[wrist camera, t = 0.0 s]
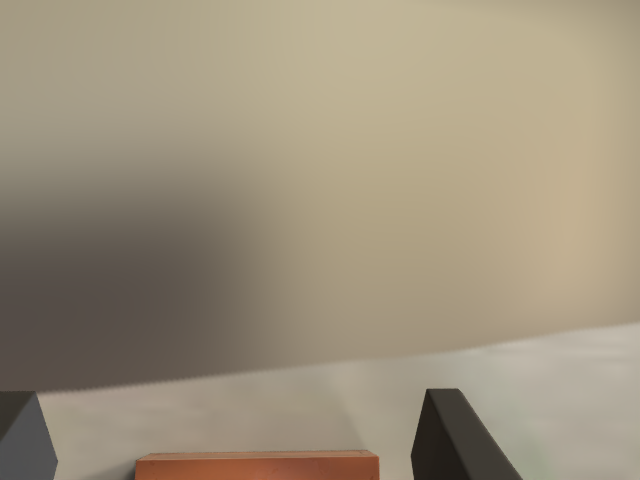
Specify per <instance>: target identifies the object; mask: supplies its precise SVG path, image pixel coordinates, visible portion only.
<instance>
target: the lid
mask: <svg viewBox="0 0 640 480" xmlns="http://www.w3.org/2000/svg"><path fill="white" fill-rule="evenodd" d="M135 480H380V478H379V456H377V455H376V456H315V457H254V458H193V459H138V460H136V469H135Z"/></svg>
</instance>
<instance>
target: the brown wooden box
mask: <svg viewBox="0 0 640 480" xmlns="http://www.w3.org/2000/svg"><path fill="white" fill-rule="evenodd" d="M315 456H376V455H375V454H373V453H371V452H370V451H368V450H344V451H280V452H216V453H152V454H149V455H147V456H145V457H143V458H141V459H193V458H254V457H315Z"/></svg>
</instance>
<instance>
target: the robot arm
mask: <svg viewBox="0 0 640 480" xmlns="http://www.w3.org/2000/svg"><path fill="white" fill-rule="evenodd" d="M411 461H412V468H413V475H414V480H523V479H522V478H521V476H520V475H519V474H518V472H517V471H516V470H515V468H514V467H513V466H512V464H511V463H510V462H509V460H508V459H507V457H506V456H505V455H504V453H503V452H502V450H501V449H500V448H499V446H498V445H497V443H496V442H495V441H494V439H493V438H492V436H491V435H490V433H489V432H488V431H487V429H486V428H485V426H484V425H483V423H482V422H481V420H480V419H479V417H478V416H477V414H476V413H475V411H474V410H473V408H472V407H471V405H470V404H469V402H468V401H467V399H466V398H465V396H464V395H463V393H462V392H461V391H460V390H459V389H427V390H426V394H425V398H424V402H423V407H422V411H421V415H420V419H419V423H418V427H417V432H416V436H415V440H414V444H413V448H412V453H411ZM57 463H58V460H57V457H56V454H55V451H54V448H53V445H52V441H51V438H50V435H49V432H48V429H47V426H46V423H45V420H44V417H43V413H42V410H41V407H40V404H39V401H38V398H37V395H36V392H35V391H27V392H26V391H21V392H20V391H17V392H0V480H53V479H54V475H55V471H56V467H57Z"/></svg>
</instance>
